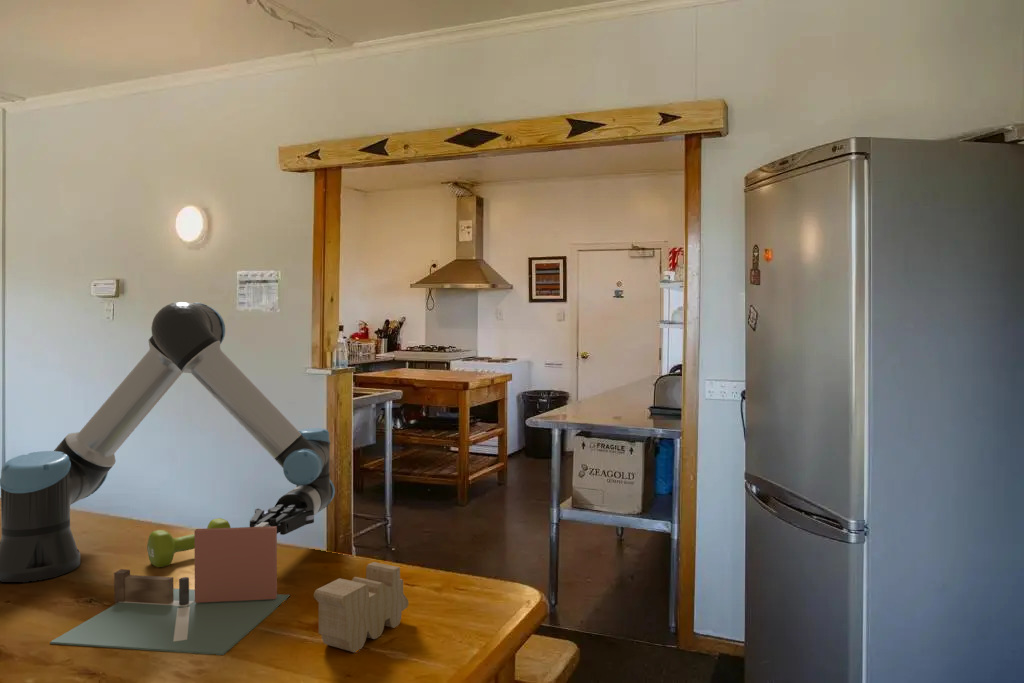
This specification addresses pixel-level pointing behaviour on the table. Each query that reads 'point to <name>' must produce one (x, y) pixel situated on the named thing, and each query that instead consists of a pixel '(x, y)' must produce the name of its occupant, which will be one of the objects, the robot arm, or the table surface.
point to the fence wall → (148, 588)
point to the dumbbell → (174, 543)
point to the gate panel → (235, 564)
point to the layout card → (172, 625)
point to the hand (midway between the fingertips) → (250, 539)
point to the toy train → (360, 607)
